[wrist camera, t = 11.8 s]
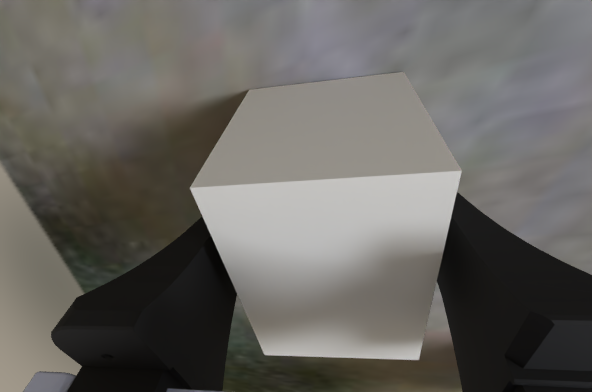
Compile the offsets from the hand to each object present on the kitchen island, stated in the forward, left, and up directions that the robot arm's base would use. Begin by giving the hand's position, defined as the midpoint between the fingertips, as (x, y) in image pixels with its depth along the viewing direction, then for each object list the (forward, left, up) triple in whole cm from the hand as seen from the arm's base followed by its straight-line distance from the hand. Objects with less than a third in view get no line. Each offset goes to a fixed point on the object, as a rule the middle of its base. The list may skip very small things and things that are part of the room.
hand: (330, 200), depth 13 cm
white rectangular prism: (0, 0, -2) cm, 2 cm away
